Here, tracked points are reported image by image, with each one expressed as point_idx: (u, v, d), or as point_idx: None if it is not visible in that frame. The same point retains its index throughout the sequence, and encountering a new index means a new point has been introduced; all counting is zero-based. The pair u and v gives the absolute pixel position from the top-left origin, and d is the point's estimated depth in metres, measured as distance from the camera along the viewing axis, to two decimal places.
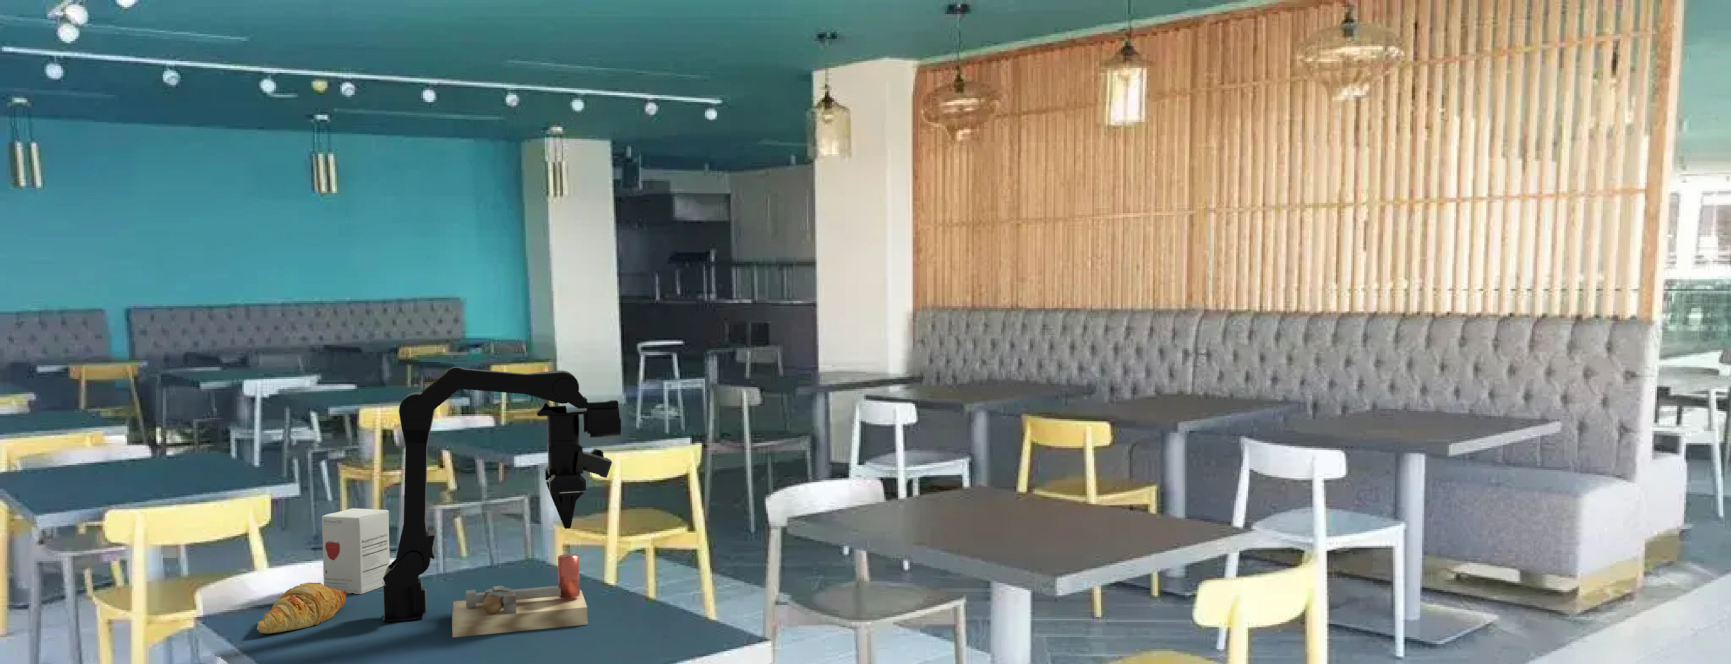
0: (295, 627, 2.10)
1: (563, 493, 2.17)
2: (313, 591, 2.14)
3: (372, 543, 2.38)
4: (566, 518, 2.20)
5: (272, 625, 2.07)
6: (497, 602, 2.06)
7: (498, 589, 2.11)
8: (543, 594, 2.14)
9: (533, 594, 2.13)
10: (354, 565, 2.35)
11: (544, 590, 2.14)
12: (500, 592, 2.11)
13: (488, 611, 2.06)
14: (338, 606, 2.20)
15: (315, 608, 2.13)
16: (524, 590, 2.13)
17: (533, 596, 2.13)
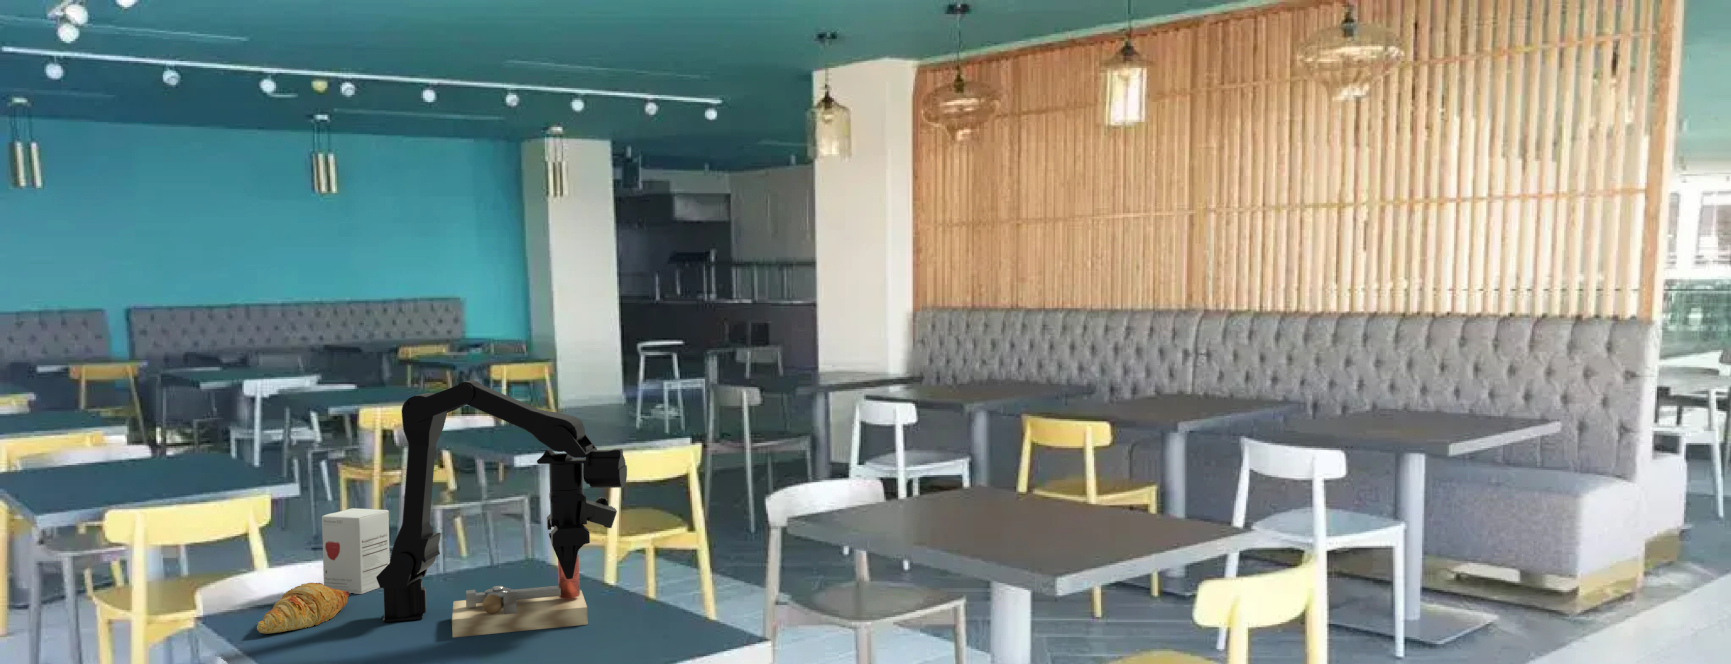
0: (295, 627, 2.09)
1: None
2: (313, 591, 2.14)
3: (372, 543, 2.38)
4: (568, 568, 2.13)
5: (272, 625, 2.07)
6: (497, 602, 2.06)
7: (498, 589, 2.11)
8: (543, 594, 2.14)
9: (533, 594, 2.13)
10: (354, 565, 2.35)
11: (544, 590, 2.14)
12: (500, 592, 2.11)
13: (488, 611, 2.06)
14: (339, 606, 2.19)
15: (316, 608, 2.13)
16: (524, 590, 2.13)
17: (533, 596, 2.13)
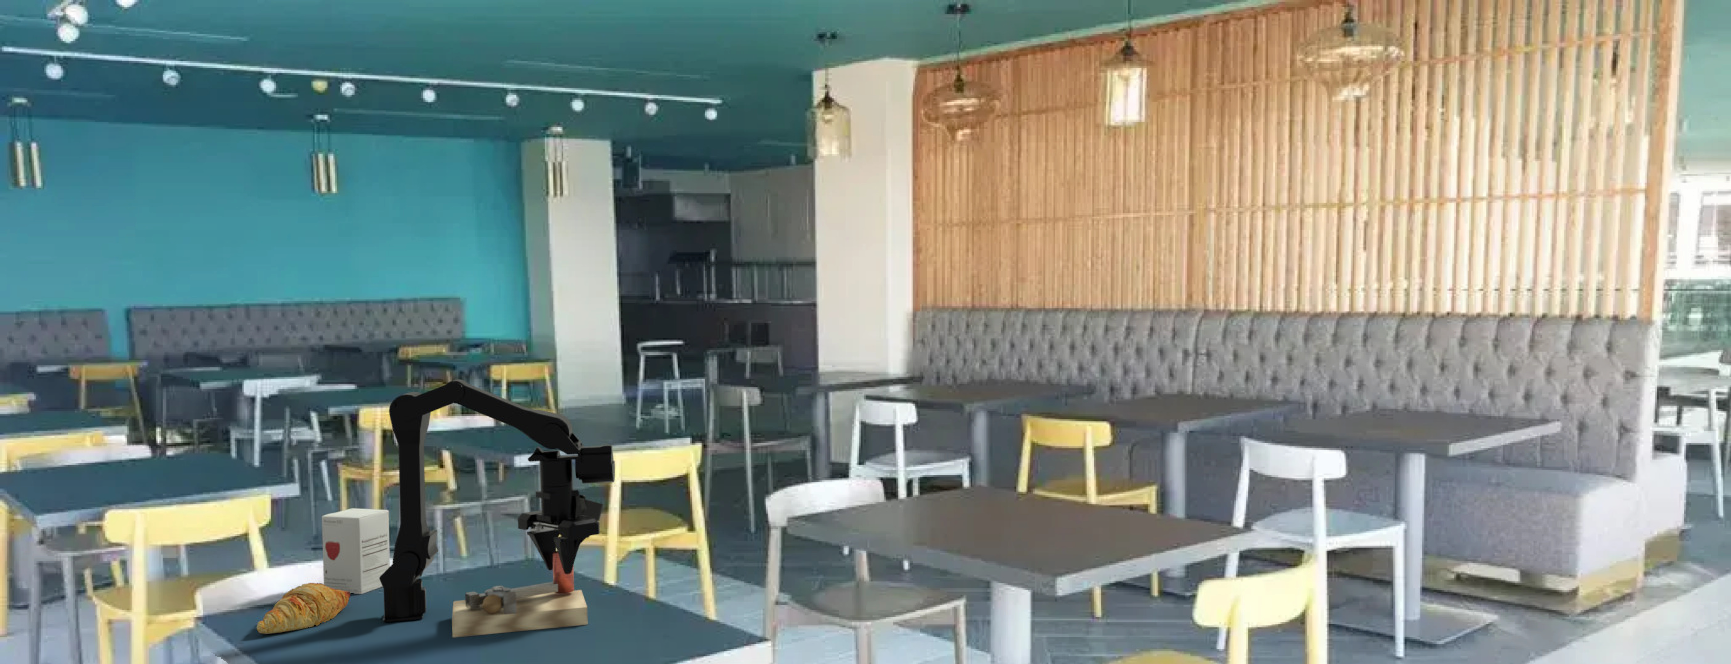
0: (295, 627, 2.09)
1: None
2: (314, 591, 2.14)
3: (372, 543, 2.38)
4: (568, 563, 2.17)
5: (272, 625, 2.06)
6: (497, 602, 2.06)
7: (500, 589, 2.12)
8: (542, 591, 2.16)
9: (533, 591, 2.15)
10: (354, 565, 2.35)
11: (543, 587, 2.16)
12: (503, 591, 2.11)
13: (488, 611, 2.06)
14: (340, 607, 2.19)
15: (316, 608, 2.12)
16: (523, 588, 2.15)
17: (533, 593, 2.15)
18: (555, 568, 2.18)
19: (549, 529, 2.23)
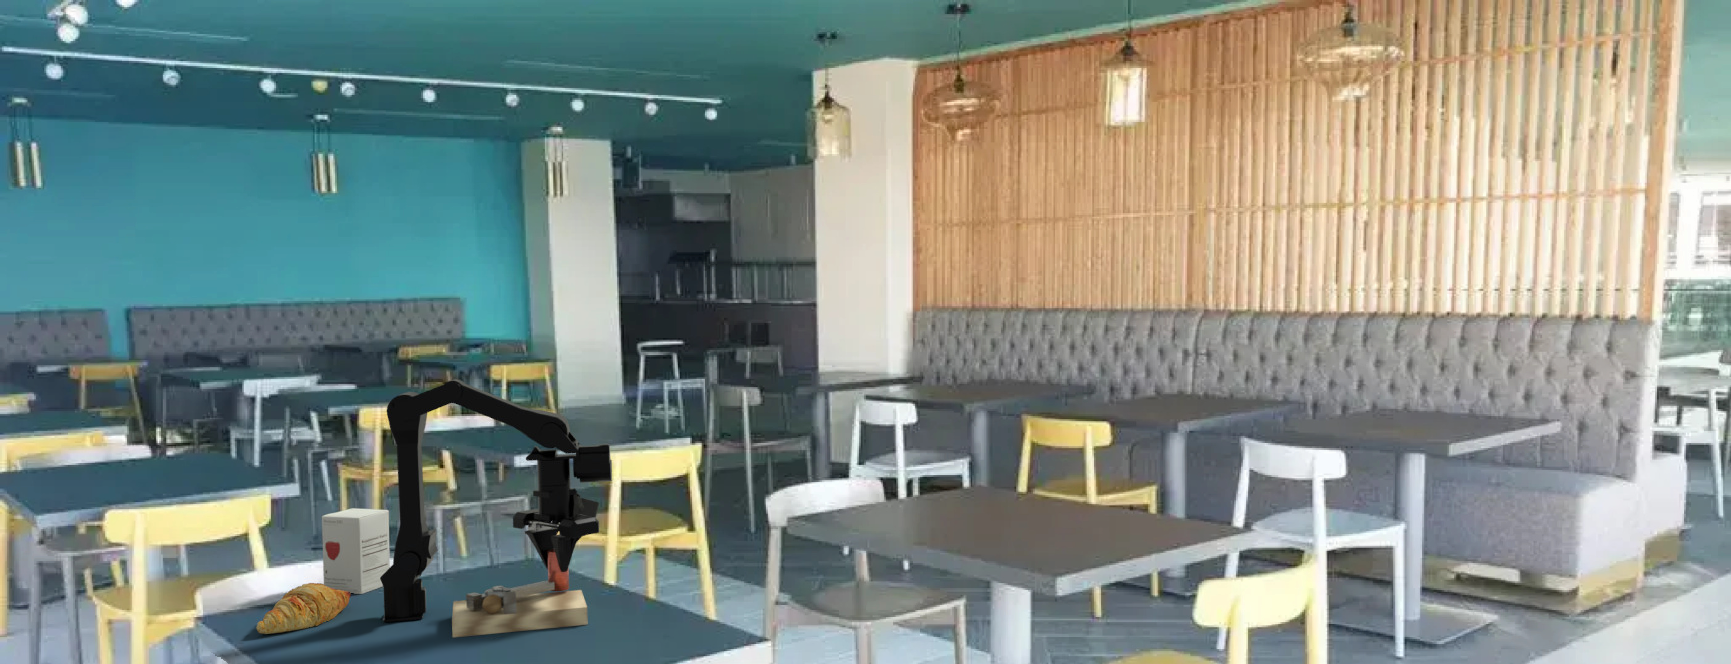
0: (295, 628, 2.09)
1: None
2: (314, 592, 2.14)
3: (372, 543, 2.38)
4: (565, 561, 2.19)
5: (272, 626, 2.06)
6: (497, 602, 2.06)
7: (501, 589, 2.12)
8: (539, 589, 2.17)
9: (531, 590, 2.16)
10: (354, 565, 2.35)
11: (540, 585, 2.17)
12: (504, 591, 2.11)
13: (488, 611, 2.06)
14: (340, 607, 2.19)
15: (316, 608, 2.12)
16: (522, 587, 2.15)
17: (531, 592, 2.16)
18: (551, 566, 2.19)
19: (547, 528, 2.23)
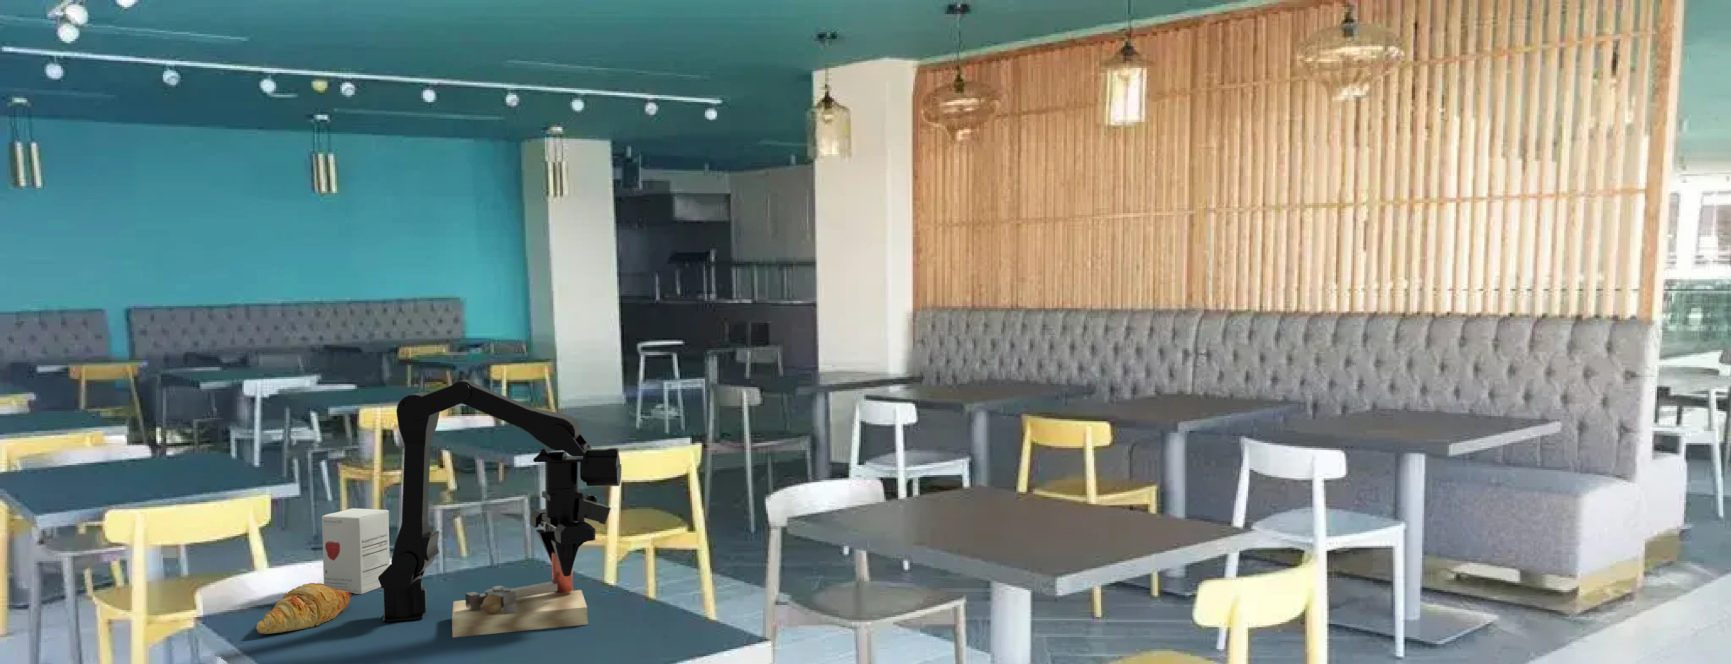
0: (295, 628, 2.09)
1: None
2: (314, 592, 2.14)
3: (372, 543, 2.38)
4: (567, 566, 2.16)
5: (272, 626, 2.06)
6: (497, 602, 2.06)
7: (500, 589, 2.12)
8: (541, 590, 2.16)
9: (532, 591, 2.15)
10: (354, 565, 2.35)
11: (542, 586, 2.16)
12: (503, 591, 2.11)
13: (488, 611, 2.06)
14: (341, 607, 2.19)
15: (316, 608, 2.12)
16: (523, 588, 2.15)
17: (532, 593, 2.15)
18: (554, 568, 2.18)
19: None
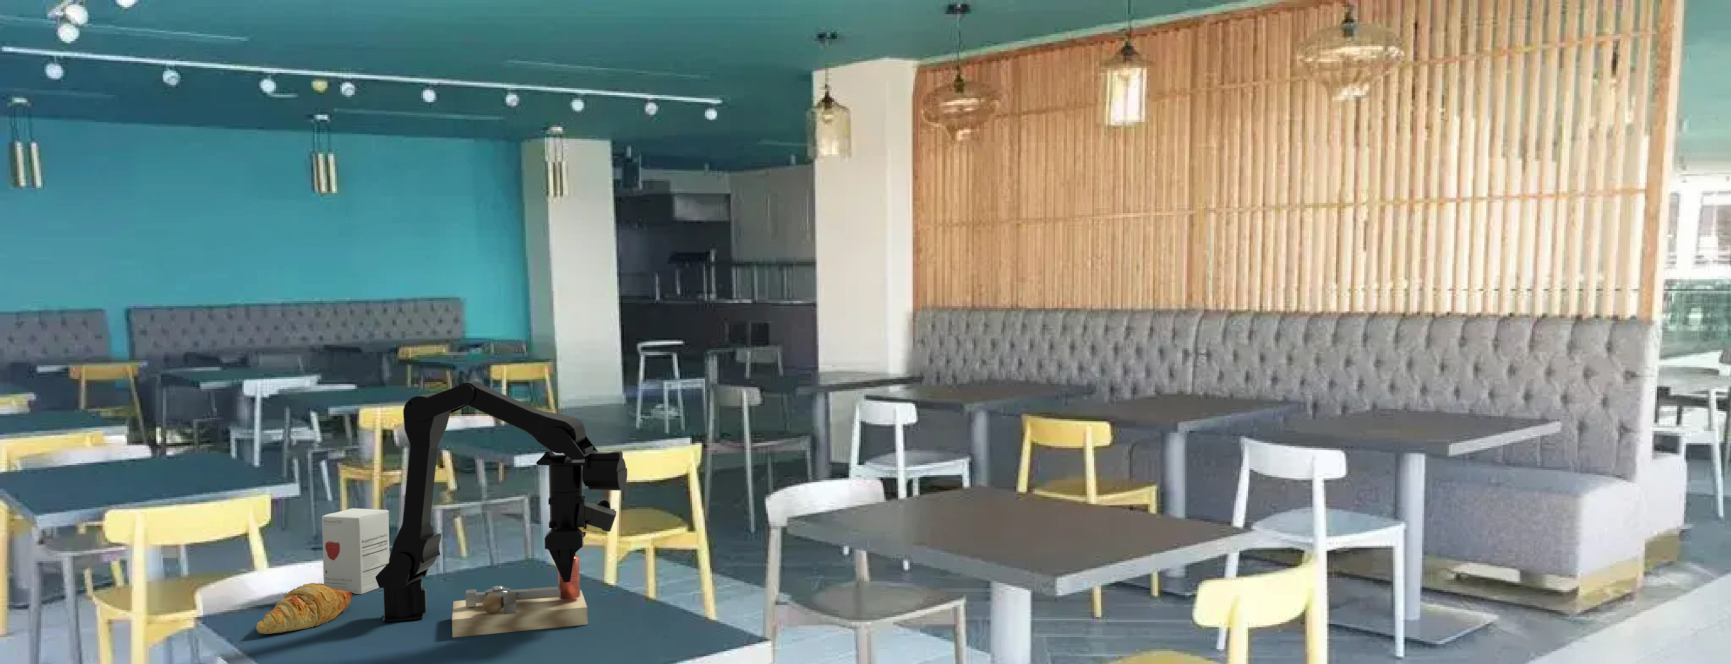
0: (295, 628, 2.09)
1: None
2: (314, 592, 2.14)
3: (372, 543, 2.38)
4: (565, 571, 2.11)
5: (271, 626, 2.06)
6: (497, 602, 2.06)
7: (498, 589, 2.11)
8: (543, 595, 2.13)
9: (533, 595, 2.13)
10: (353, 565, 2.35)
11: (544, 591, 2.13)
12: (499, 592, 2.11)
13: (488, 611, 2.06)
14: (341, 607, 2.19)
15: (316, 609, 2.12)
16: (524, 590, 2.13)
17: (533, 597, 2.13)
18: (558, 573, 2.14)
19: None
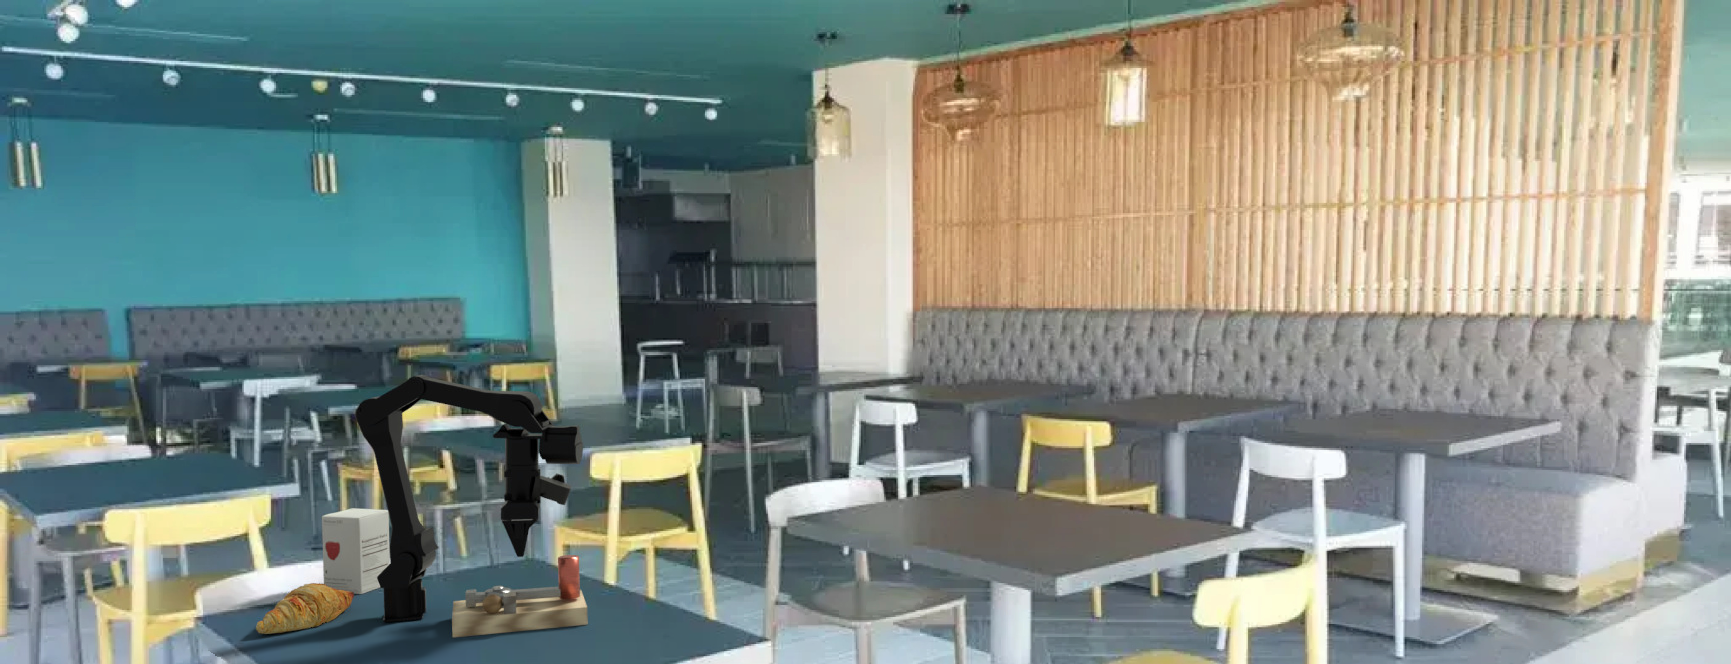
0: (295, 628, 2.09)
1: (515, 520, 2.09)
2: (315, 592, 2.14)
3: (372, 543, 2.38)
4: (519, 546, 2.12)
5: (271, 626, 2.06)
6: (497, 602, 2.06)
7: (498, 589, 2.11)
8: (543, 595, 2.13)
9: (533, 595, 2.13)
10: (354, 565, 2.35)
11: (544, 591, 2.13)
12: (499, 592, 2.11)
13: (488, 611, 2.06)
14: (342, 607, 2.19)
15: (316, 609, 2.12)
16: (524, 590, 2.13)
17: (533, 597, 2.13)
18: (558, 573, 2.14)
19: None
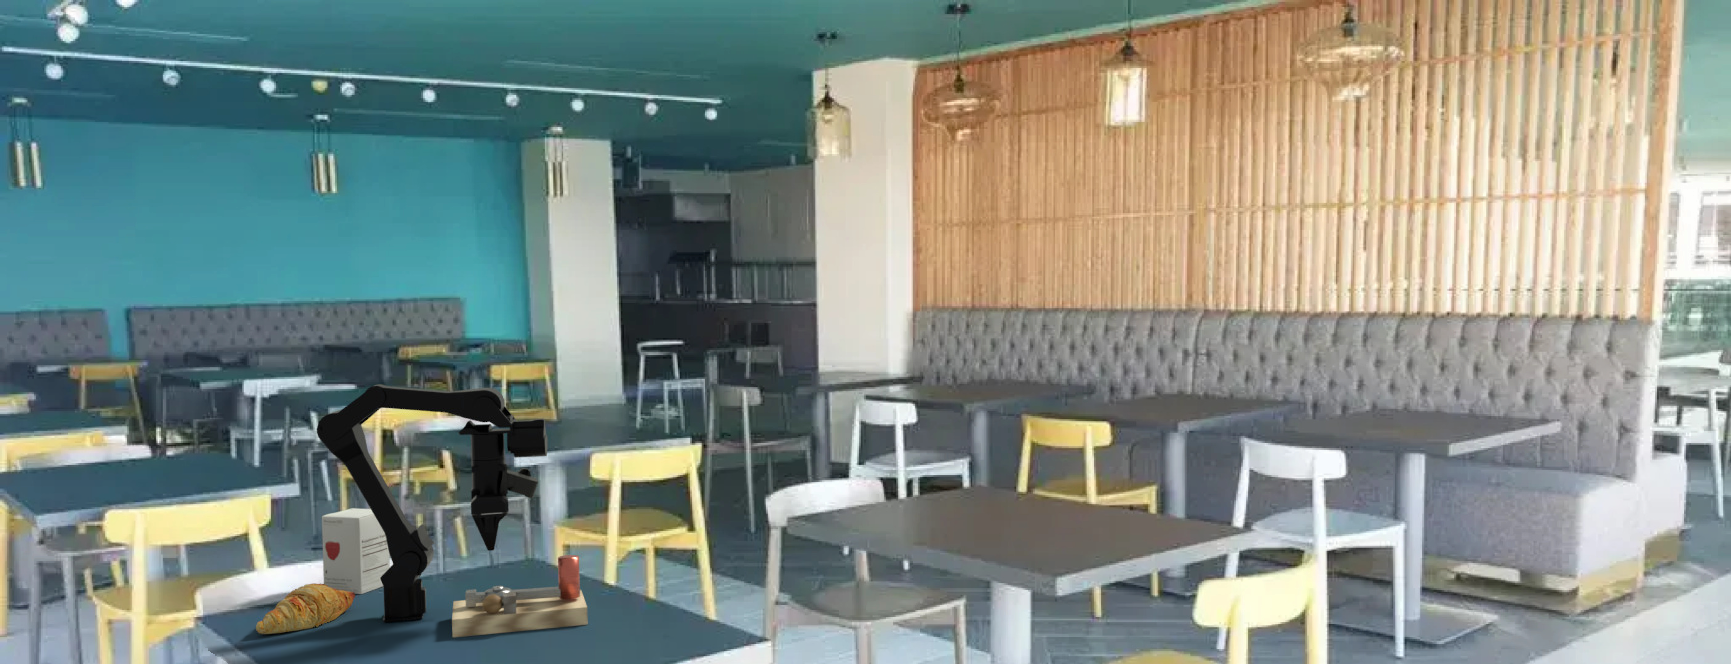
0: (294, 628, 2.09)
1: (485, 514, 2.11)
2: (315, 592, 2.13)
3: (372, 543, 2.38)
4: (489, 540, 2.14)
5: (271, 626, 2.06)
6: (497, 602, 2.06)
7: (498, 589, 2.11)
8: (543, 595, 2.13)
9: (533, 595, 2.13)
10: (354, 565, 2.35)
11: (544, 591, 2.13)
12: (499, 592, 2.11)
13: (488, 611, 2.06)
14: (343, 608, 2.18)
15: (316, 609, 2.12)
16: (524, 590, 2.13)
17: (533, 597, 2.13)
18: (558, 573, 2.14)
19: None
